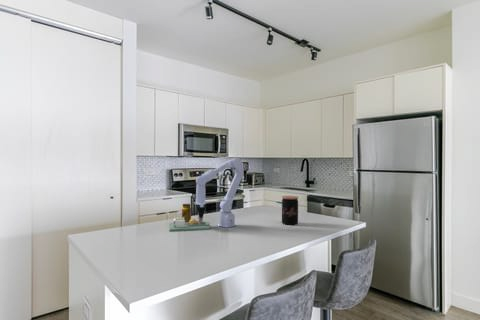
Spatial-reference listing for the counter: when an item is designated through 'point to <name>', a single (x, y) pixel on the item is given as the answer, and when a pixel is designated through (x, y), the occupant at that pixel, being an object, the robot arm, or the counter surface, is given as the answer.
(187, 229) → the pitch
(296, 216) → the coffee jar
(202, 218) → the grey and tan mallet
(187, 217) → the condiment
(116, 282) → the counter surface
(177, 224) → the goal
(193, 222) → the ball
